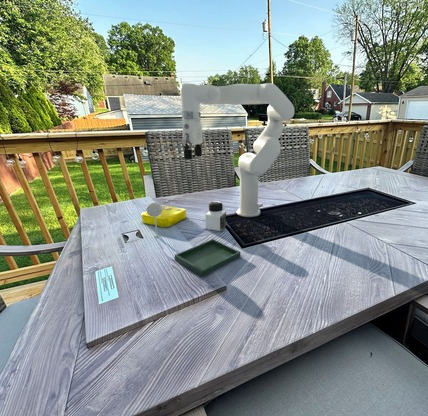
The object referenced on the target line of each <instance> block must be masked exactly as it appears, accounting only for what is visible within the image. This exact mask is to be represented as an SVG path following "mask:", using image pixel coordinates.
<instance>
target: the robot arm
mask: <svg viewBox="0 0 428 416" xmlns="http://www.w3.org/2000/svg"><path fill="white" fill-rule="evenodd" d="M179 92H180V106H181V107H180V108H181V120H182V138H181V144H182V148H183V149H182V150H183V153H184V154H183V155H184V156H183V157H184V160H193V150H192V147H193V146H194V156H195V157H202V156H203V148H202V147H203V145H202V144H203V143H204V135H203V126H202V121H201V120H202V116H201V114H202V113H201V112H202V111H201V105H204V106H205V105H233V106H235V105H236V106H237V105H238V106H240V105H243V106H244V105H264V104H265V105H267V104H268V106H267V109H266V115H267V125H266V126H265V128H264V129H263V130H262V132H261V133H260V134H259V136H257V138H256V140H255V141H254V142H253V145H252V148H253V150H254V153H253V152H244V153H243V154H241V155H240V156H239V158H238V163H237V165H238V172H239V208H238V209H236V214H237V215H238V216H240V217H243V218H255V217H258V216H260V215H261V210H260V208H261V207H263V206H264V204H263V203H262V202H260V203H258V202H259V177H260V176H263V175H264V174H265V173H266V172H267V171H268V170H269V169H270V167H271V166H272V165H273V164H274V163H275V161H276V160H277V158H278V157H279V155H280V153H281V150H282V146H281V143H280V140H279V139H280V138H281V136H282V134H283V132H284V131H283V130H284V123H283V121H284V122H285V121H290V120H292V118H293V117H294V115H295V105H294V104H293V103H292V102H291V100H290V99H289V98H288V97H287V95H285V93H284V92H283V91H282V90H281V89H280V88H279V87H278V86H277V85H276V84H274V83H272V82H267V83H235V84H229V85H217V86H215V85H214V84H196V83H188V82H184V83H181V84H180V86H179Z"/></svg>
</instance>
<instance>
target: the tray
mask: <svg viewBox="0 0 428 416" xmlns="http://www.w3.org/2000/svg"><path fill="white" fill-rule="evenodd" d="M241 256H242V255H241V251H240V250H238V249H235V248H233V247H232V246H229V245H227V244H225V243H223V242H220V241H218V240H216V239H214V238H212V239H210V240H207V241H205V242H202V243H199V244H197V245H195V246H192V247H191V248H187V249H186V250H183V251H180V252H179V253H176V254H174V261H176V262H177V263H179V264H180V265H182V266H184V267H186V268H187V269H189V270H191V271H192V272H194V273H195V274H197V275H198V276H200V277H202V278H204V277H205V276H207V275H209V274H211V273H213V272H216V270H218V269H220V268H222V267H225V266H226V265H228V264H230V263H231V262H233V261H235V260H237V259H239V258H241Z"/></svg>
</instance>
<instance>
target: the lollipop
mask: <svg viewBox="0 0 428 416" xmlns="http://www.w3.org/2000/svg"><path fill="white" fill-rule="evenodd" d="M161 205H162V204H160V203H159V202H157V201H152V202H149V203H148V204H147V205H146V206H145V212H147V214H148V215H150V216H152V217H154V218H155V225H154V226H155V235H156V236H155V237H156V238H159V237H158V235H159V234H158V228H157V227H158V226H157V225H156V216H159V215H160V214H161V212H162V206H161Z"/></svg>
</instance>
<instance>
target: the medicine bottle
mask: <svg viewBox="0 0 428 416" xmlns="http://www.w3.org/2000/svg"><path fill="white" fill-rule="evenodd" d="M223 205H224V203H222V202H221V201H219V200H218V201H216V200H215V201H214V200H213V201H210V202H209V203H208V212H207V213H205V215H204V217H205V219H204V220H205V230H209V231H215V232H216V231H217V232H221V231H223V229H225V228H226V226H227V211H226V210H223V209H224V207H223Z"/></svg>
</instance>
